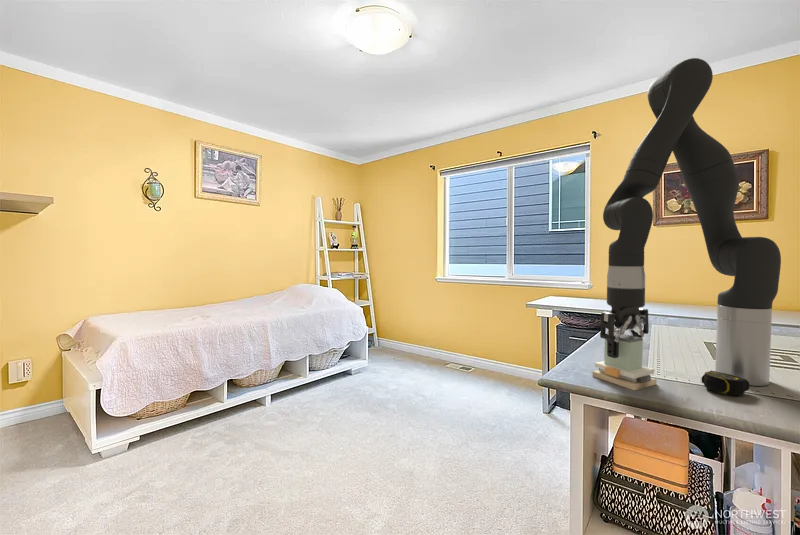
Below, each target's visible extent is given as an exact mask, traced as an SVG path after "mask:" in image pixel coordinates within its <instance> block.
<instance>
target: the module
mask: <svg viewBox="0 0 800 535" xmlns="http://www.w3.org/2000/svg"><path fill="white" fill-rule="evenodd" d="M615 334H616V333H614V336H615ZM643 338H644V337H642V338H641V337H636V336H633V335H631V334H630V335H629V334H627V333H624V334H622V335H621V336H620V339H619V341H618V342H619V357H618V358H612V357H609V356H608V355H607V340H606V339H604V359H603V361H604V364H607V365H611V366H614V367H618V368H621V369H624V370H628V371H632V370H636V369H640V368H642V366H643V345H644V342H643V341H644V340H643Z"/></svg>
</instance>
